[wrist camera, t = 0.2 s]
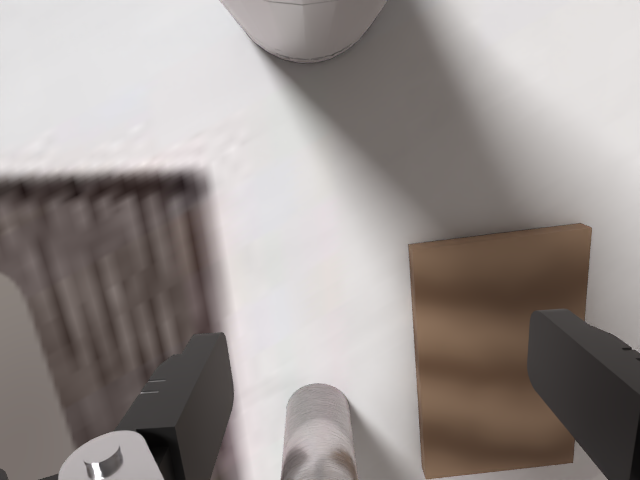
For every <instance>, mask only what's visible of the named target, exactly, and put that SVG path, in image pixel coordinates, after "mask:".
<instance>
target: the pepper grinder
mask: <svg viewBox="0 0 640 480" xmlns="http://www.w3.org/2000/svg"><path fill="white" fill-rule="evenodd" d="M281 480H358V473H357V465H356V457H355V449H354V441H353V433H352V426H351V418H350V410H349V404H348V401H347V399H346V397H345V395H344V394H343V393H342V392H341V391H340V390H338V389H337V388H335V387H333V386H331V385H327V384H319V383H318V384H310V385H306V386H304V387H302V388H300V389H298V390H297V391H296V392H295V393H294V394H293V395H292V396H291V397H290V399H289V401H288V404H287V411H286V423H285V435H284V447H283V459H282V471H281Z"/></svg>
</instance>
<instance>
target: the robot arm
mask: <svg viewBox="0 0 640 480" xmlns="http://www.w3.org/2000/svg"><path fill="white" fill-rule="evenodd" d="M219 1H220V2H221V3H222V4H223V5H224V7H225V8H226V9H227V10H228V11H229V13H230V14H231V15H232V16H233V18H234V19H235V20H236V21H237V23H238V24H239V25H240V26H241V27H242V28H243V30H244V31H245V32H246V33H247V34H248V35H249V36H250V38H251V39H252V40H253V41H254V42H255V43H256V44H258V45H259V46H260V47H262V48H263V49H264V50H266V51H267V52H268V53H270V54H273V55H275V56H277V57H279V58H281V59H283V60H288V61H293V62H297V63H316V62H320V61H324V60H328V59H331V58H333V57H335V56H337V55H339V54H341V53H343V52H345V51H346V50H348V49H349V48H350V47H351V46H352V45H354V44H355V43H356V42H357V41H358V40H359V39H360V38H361V37H362V36H363V34H364V33H365V32H366V31H367V29H368V28H369V27H370V25H371V24H372V22H373V21H374V19H375V18H376V17H377V15H378V14H379V13H380V11H381V10H382V8H383V7H384V5H385V4H386V2H387V1H388V0H219ZM527 371H528V376H529V379H530V382H531V384H532V386H533V388H534V390H535V391H536V392H537V393H538V395H539V396H540V397H541V398H542V399H543V401H544V402H545V403H546V404H547V406H548V407H549V408H550V409H551V410H552V412H553V413H554V414H555V415H556V417H557V418H558V419H559V420H560V421H561V423H562V424H563V425H564V426H565V428H566V429H567V430H568V431H569V432H570V434H571V435H572V436H573V437H574V439H575V440H576V441H577V442H578V443H579V445H580V446H581V447H582V448H583V450H584V451H585V452H586V453H587V454H588V456H589V457H590V458H591V459H592V461H593V462H594V463H595V464H596V465H597V467H598V468H599V469H600V470H601V471H602V473H603V474H604V475H605V476H606V478H607V479H608V480H640V353H639V352H637V351H636V350H632V348H631V347H630V346H629V345H627V344H626V343H624V342H623V341H622V340H620V339H619V338H617V337H616V336H614V335H612V334H610V333H607V332H605V331H603V330H600V329H598V328H595V327H593V326H590V325H589V324H587V323H586V322H585V321H583V320H582V319H581V318H579V317H578V316H577V315H575V314H574V313H572V312H571V311H570V310H568V309H550V310H536V311H534V312H533V313H532V314H531V317H530V325H529V341H528V357H527ZM233 399H234V388H233V380H232V373H231V367H230V360H229V354H228V348H227V341H226V337H225V335H224V333H222V332H220V333H206V334H194V335H193V336H192V338H191V339H190V341H189V343H188V344H187V346H186V348H185V349H184V351H183V352H182V354H177V355H172V356H171V357H170V358H169V359H167V360H166V361H165V362H163V363H162V364H161V365H159V366H158V367H157V369H156V370H155V371H154V373H153V374H152V376H151V377H150V379H149V383H146V385H145V386H144V388H143V389H142V391H141V394H139V395H138V397H137V398H136V399H135V401H134V402H133V404H132V405H131V407H130V408H129V410H128V411H127V413H126V414H125V416H124V417H123V419H122V420H121V422H120V423H119V424H118V426H117V427H116V429H115V430H114V432H111V433H107V434H104V435H101V436H99V437H97V438H95V439H93V440H91V441H89V442H87V443H85V444H84V445H82V446H81V447H80V448H78V449H77V450H76V451H75V452H73V453H72V454H71V455H70V456H69V457H68V459H67V460H66V461H65V462H64V464H63V465H62V467H61V469H60V472H59V474H56V475H53V476H50V477H46V478H43V479H40V480H210V478H211V475H212V472H213V469H214V465H215V462H216V459H217V456H218V453H219V449H220V446H221V443H222V440H223V437H224V433H225V430H226V427H227V424H228V421H229V417H230V414H231V411H232V407H233ZM0 480H8V477H7V474H6V472H5V471H4V470H2V469H0Z"/></svg>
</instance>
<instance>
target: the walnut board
mask: <svg viewBox="0 0 640 480" xmlns="http://www.w3.org/2000/svg"><path fill="white" fill-rule="evenodd" d="M591 233H592V228H591V227H588V226H586V225H584V224H581V223H578V224H570V225H562V226H554V227H546V228H538V229H530V230H522V231H513V232H505V233H497V234H489V235H481V236H473V237H465V238H457V239H448V240H440V241H432V242H424V243H416V244H408V246H409V262H410V279H411V295H412V312H413V328H414V344H415V361H416V377H417V394H418V410H419V426H420V443H421V459H422V469H423V472H424V475H425V478H426V479H433V478H442V477H451V476H460V475H469V474H478V473H487V472H495V471H504V470H513V469H522V468H531V467H540V466H549V465H558V464H567V463H573V455H574V443H575V439H574V437H573V436H572V435H571V434H570V432H569V431H568V430H567V429H566V428H565V426H564V425H563V424H562V423H561V421H560V420H559V419H558V418H557V417H556V415H555V414H554V413H553V412H552V410H551V409H550V408H549V407H548V406H547V404H546V403H545V402H544V401H543V399H542V398H541V397H540V396H539V395H538V393H537V392H536V391H535V390H534V388H533V386H532V384H531V382H530V379H529V376H528V371H527V357H528V341H529V325H530V317H531V314H532V313H533V312H534V311H536V310H550V309H568V310H570V311H571V312H572V313H574V314H575V315H577V316H578V317H579V318H581V319H582V320H583V321H584V320H585V307H586V295H587V283H588V270H589V258H590V246H591Z"/></svg>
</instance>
